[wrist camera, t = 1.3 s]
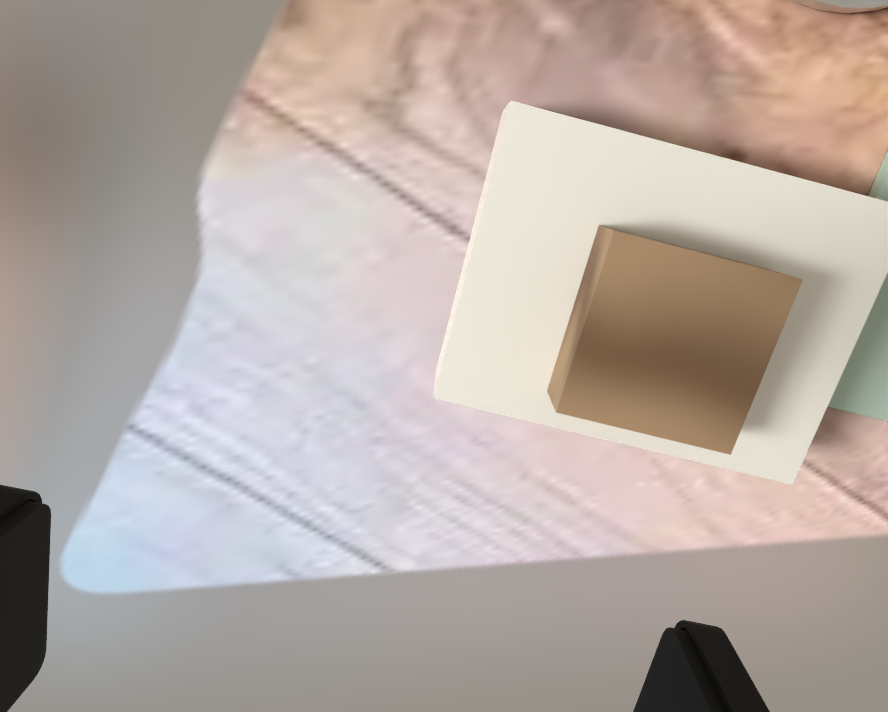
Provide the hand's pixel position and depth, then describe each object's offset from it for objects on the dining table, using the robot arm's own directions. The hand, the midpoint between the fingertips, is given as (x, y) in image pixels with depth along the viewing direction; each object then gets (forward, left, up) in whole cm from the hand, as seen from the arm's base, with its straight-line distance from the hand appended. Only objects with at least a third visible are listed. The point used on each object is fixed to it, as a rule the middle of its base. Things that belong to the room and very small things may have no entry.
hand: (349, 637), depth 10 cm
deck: (-4, +9, -21) cm, 23 cm away
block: (-3, +9, -17) cm, 20 cm away
